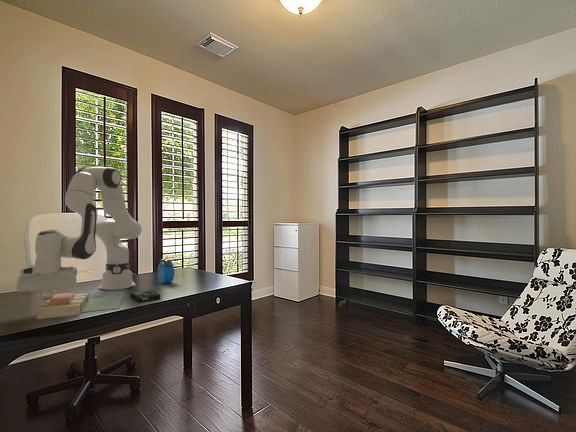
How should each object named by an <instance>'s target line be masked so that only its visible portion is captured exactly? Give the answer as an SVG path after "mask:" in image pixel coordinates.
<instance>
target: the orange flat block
mask: <svg viewBox="0 0 576 432" xmlns="http://www.w3.org/2000/svg"><path fill="white" fill-rule="evenodd" d="M75 294H76V292H65V293H56V294H53V297H52V298H51V299H50V300H49V304H60V303H70V302H71V301H72V300H73V298H74V297H75Z"/></svg>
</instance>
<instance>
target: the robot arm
mask: <svg viewBox="0 0 576 432" xmlns="http://www.w3.org/2000/svg"><path fill="white" fill-rule="evenodd" d="M121 182H122V175H121V173H120V171H119V170H118V169H117V168H115V167H111V166H108V167H105V166H95V167H94V166H91V167H86V166H85V167H81V168H78V169H77V170H76V172H75V174H74V175H73V176H72V177H71V180H70V182H69V184H68V186H67V191H66V193H65V197H64V202H65V205H66V207H67V208H68V209H70V210H71V211H73V212H74V213H77V214H79V216H81V228H80V235H79V236H69V235H66V234H63V233H61V232H60V230H59V229H48V230H42V231H39V232H38V233H37V235H36V238H35V242H34V243H35V245H34V252H35V255H36V256H35V259H34V264H32V265H29V266H25V267H24V268H21V269H20V270H19V274H20V275H19V276H18V278H17V281H16V287H15V288H16V291H17V292H18V293H22V292H34V291H37V292H38V291H39V294H40V295H41V297H42V301H43V302H44V301H47V300H50V299H51V298H52V297H53V296H54V295H55V293H56V291H57V290H60V289H61V290H62V289H63V290H65V289H73V288H75V287H76V286H77V284H78V283H77V282H78V279H77V276H78V269H77V268H76V267H74V266H62V258H67V259H79V260H88V259H89V258H91V257H92V256H93V255H94V254H95V253H96V249H97V243H96V237H98V238H99V239H100V240H101V241H102V243H103V244H104V247H105V250H106V264H105V271H104V272H103V273H102V277H101V278H102V279H101V281H102V282H101V285H100V286H98V287H97V290H98V289H99V290H107V291H115V290H124V289H129V288H131V287H136V285H137V284H136V283H135V282H134V281H133V272H132V271H131V270H130V266H131V265H130V262H129V261H130V259H129V255H130V253H129V252H130V251H129V248H128V247H127V246H126V245H124V244H123V243H122V241H121V240H132V239H137V238H138V237H140V235H141V233H142V230H143V229H142V226H141V223H140V222H138V221H137V220H135V218H133V217H132V216H131V214H130V213H129V211H128V208H127V204H126V201H125V195H124V190H123V186H122V185H121ZM96 189H100V196H101V197H100V198H101V203H102V209H103V211H104V213H105V214H106V215H108V216H110V217H111V218H112V219H107V220H101V221H98V222H97V219H98V218H97V217H98V210H97V207H96V205H95V204H94V200H95V199H94V198H95V194H96ZM47 290H48V291H49V290H50V291H49V292H50V294H49V295H46V293H45V292H46V291H47Z"/></svg>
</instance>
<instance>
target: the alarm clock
mask: <svg viewBox="0 0 576 432" xmlns="http://www.w3.org/2000/svg"><path fill="white" fill-rule="evenodd" d="M157 276H158V281H159V283H160V284H167V283H168V284H169V283H170V284H171V283H172V282H173V281H174V278H175V266H174V264H173V261H172V260H171V259H167V258H165V257H164V258H161V259H160V260H159V264H158V268H157Z"/></svg>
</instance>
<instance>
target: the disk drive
mask: <svg viewBox="0 0 576 432" xmlns="http://www.w3.org/2000/svg"><path fill="white" fill-rule="evenodd" d="M130 297H131V298H132V299H133V300H135V301H136V302H137V303H144V302H149V301H155V300H161V294H160V293H158V292H156V291H155V290H153V289H152V288H150V289H145V290H143V289H142V290H137V291H131V293H130Z"/></svg>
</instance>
